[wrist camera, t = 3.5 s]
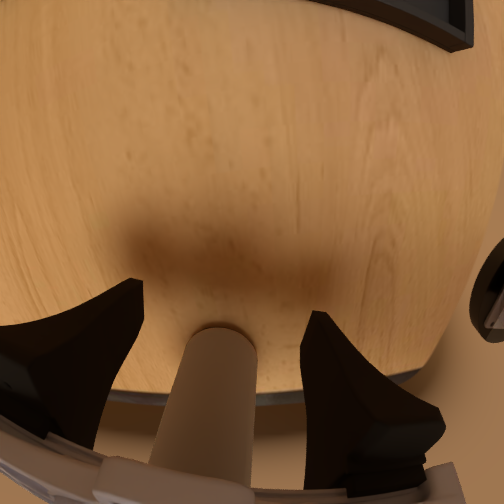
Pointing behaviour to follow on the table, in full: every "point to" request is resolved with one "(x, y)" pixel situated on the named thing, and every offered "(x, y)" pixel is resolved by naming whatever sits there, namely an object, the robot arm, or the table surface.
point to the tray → (421, 18)
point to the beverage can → (211, 409)
